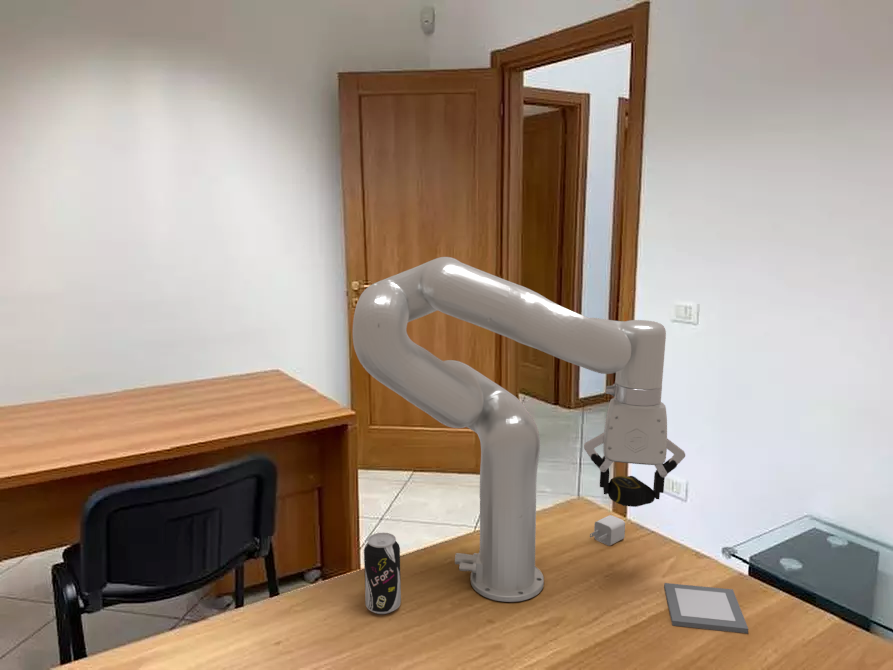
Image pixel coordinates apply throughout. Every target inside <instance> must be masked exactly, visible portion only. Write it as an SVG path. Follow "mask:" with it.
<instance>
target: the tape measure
mask: <svg viewBox="0 0 893 670" xmlns="http://www.w3.org/2000/svg"><path fill="white" fill-rule="evenodd" d="M607 496H608V498H609V499H610V500H611V501H613V502H614V503H616V504H618V505H621V506H623V507H630V508H631V507H635V508H636V507H637V508H638V507H641V506H645V505H648V504H649V505H650V504H651V503H653V502H654V501H655V500H656V498H655V492H654V491H653V489H652V488H651V487H650V486H649V485H647V484H646V483H644V482H643V481H641V480H640V479H638V478H637V477H636V476H633V475H628V476H624V475H617V476H614V477H612V478H611V479H609V489H608V494H607Z"/></svg>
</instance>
